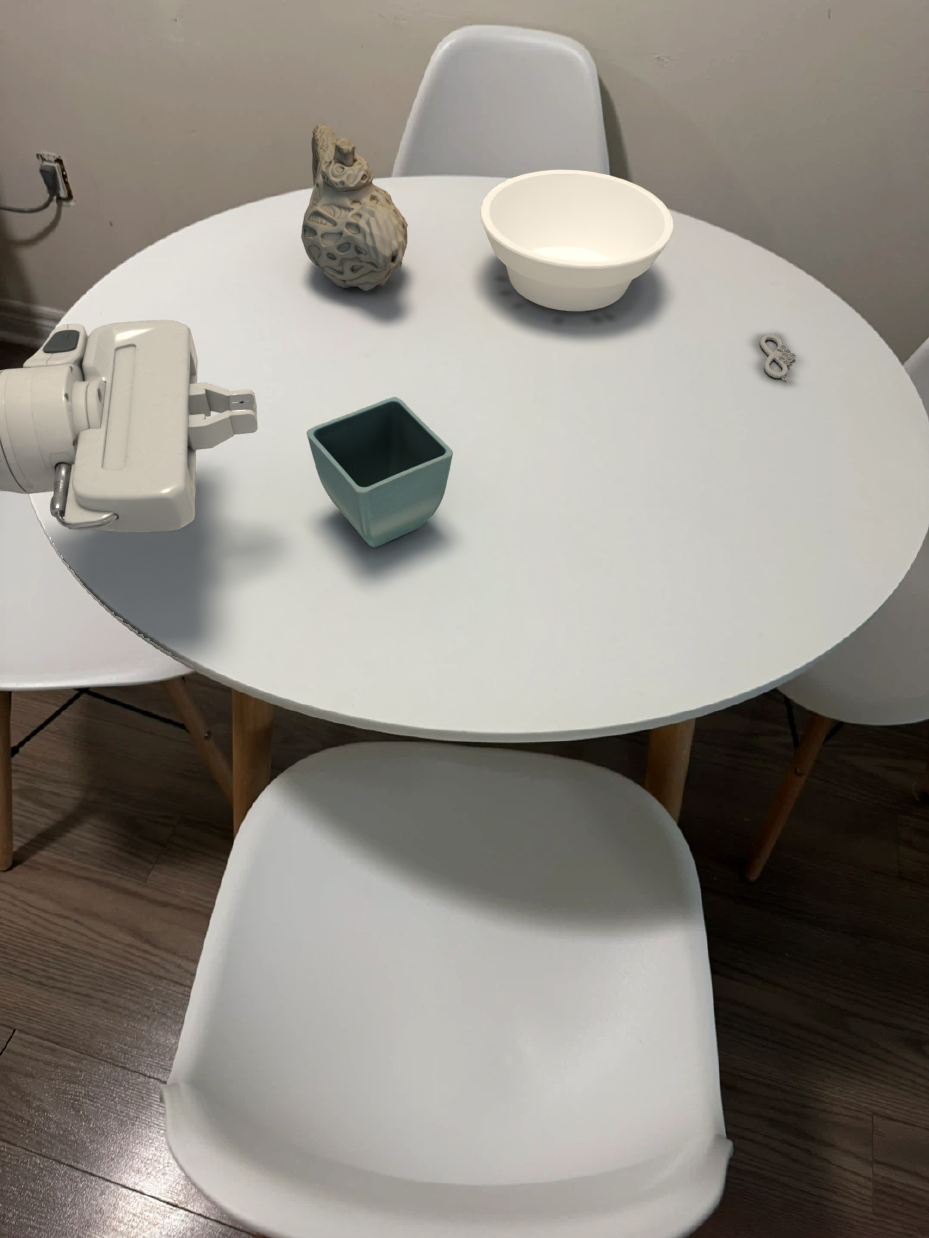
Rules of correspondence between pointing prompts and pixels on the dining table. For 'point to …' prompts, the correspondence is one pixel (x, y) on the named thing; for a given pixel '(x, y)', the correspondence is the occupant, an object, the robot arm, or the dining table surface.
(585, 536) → the dining table surface
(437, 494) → the flower pot
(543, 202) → the bowl
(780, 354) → the charm
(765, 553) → the dining table surface
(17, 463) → the robot arm
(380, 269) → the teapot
